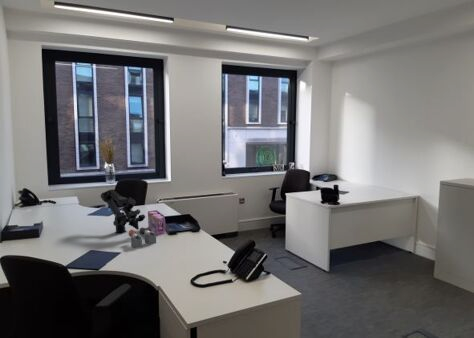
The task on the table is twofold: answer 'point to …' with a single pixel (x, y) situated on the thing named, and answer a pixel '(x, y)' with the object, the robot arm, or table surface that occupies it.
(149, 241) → the grey u-shaped block
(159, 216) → the gum box
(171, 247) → the table surface
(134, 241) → the bed
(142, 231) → the black plunger
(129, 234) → the copper plunger
